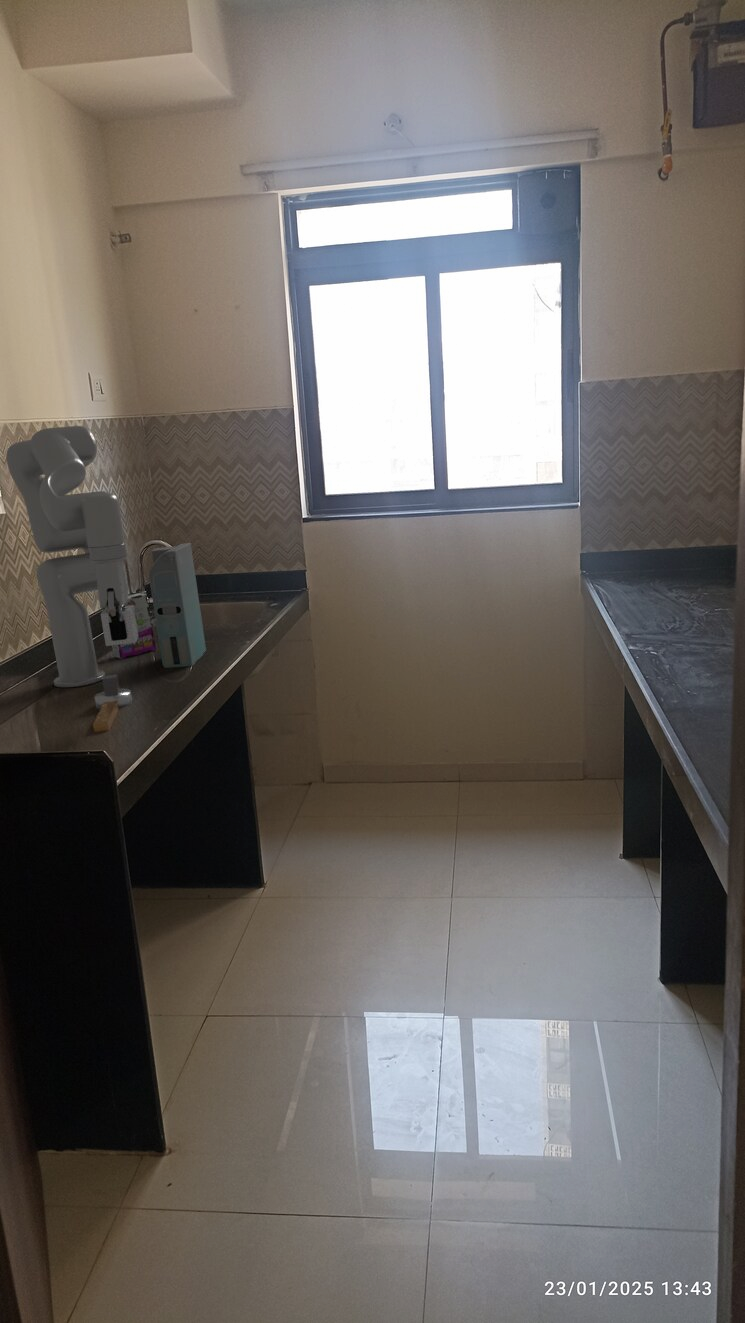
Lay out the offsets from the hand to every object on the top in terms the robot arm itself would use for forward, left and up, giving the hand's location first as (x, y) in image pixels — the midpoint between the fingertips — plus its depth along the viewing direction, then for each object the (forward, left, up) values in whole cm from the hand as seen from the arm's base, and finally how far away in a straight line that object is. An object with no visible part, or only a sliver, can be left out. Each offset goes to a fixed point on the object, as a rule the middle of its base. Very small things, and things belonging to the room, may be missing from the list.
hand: (121, 635), depth 200 cm
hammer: (0, -5, -17) cm, 18 cm away
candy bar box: (-60, -6, -17) cm, 63 cm away
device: (-45, +9, -17) cm, 49 cm away
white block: (0, 0, -1) cm, 1 cm away
